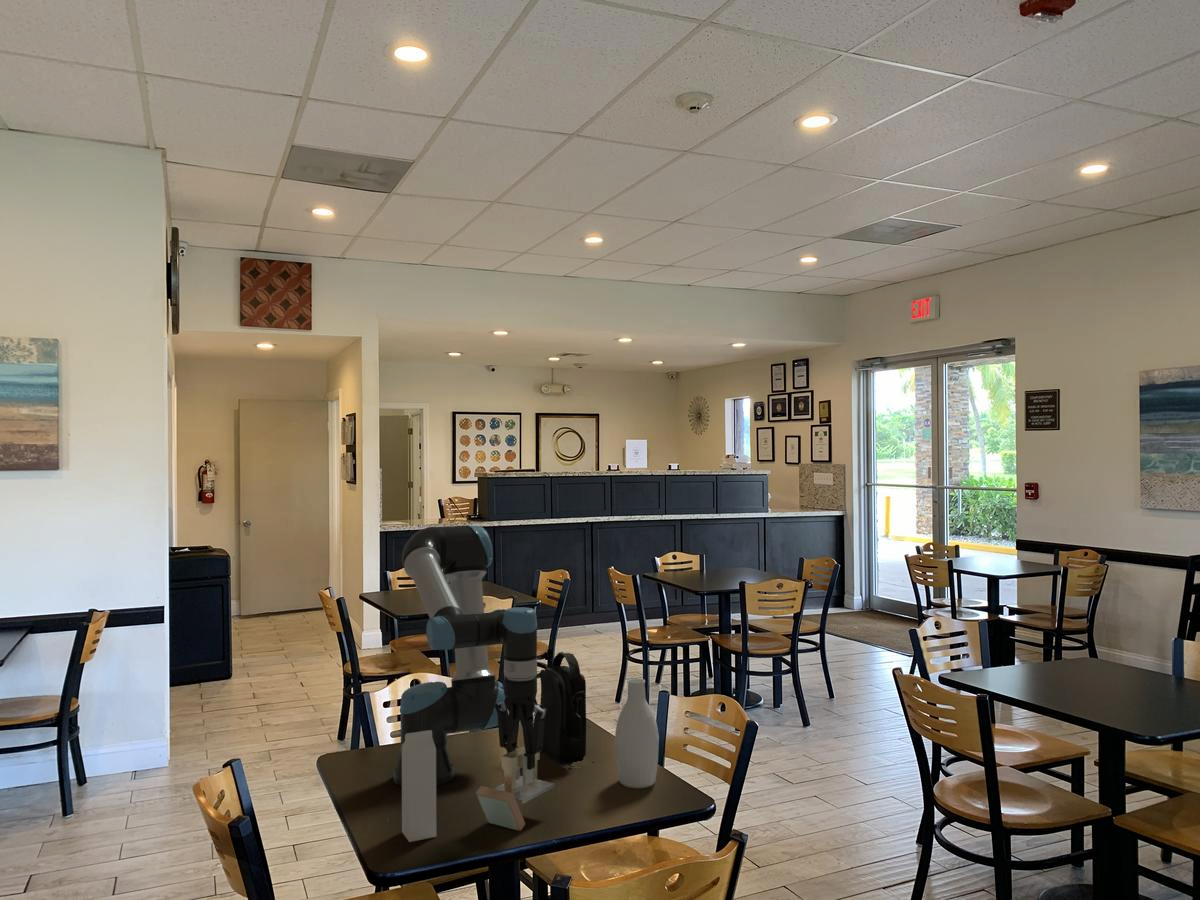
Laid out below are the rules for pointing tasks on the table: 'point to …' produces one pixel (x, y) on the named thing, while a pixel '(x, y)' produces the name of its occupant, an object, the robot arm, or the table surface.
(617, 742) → the bottle
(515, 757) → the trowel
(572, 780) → the table surface
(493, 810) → the tile
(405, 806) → the milk
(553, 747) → the shoulder bag
